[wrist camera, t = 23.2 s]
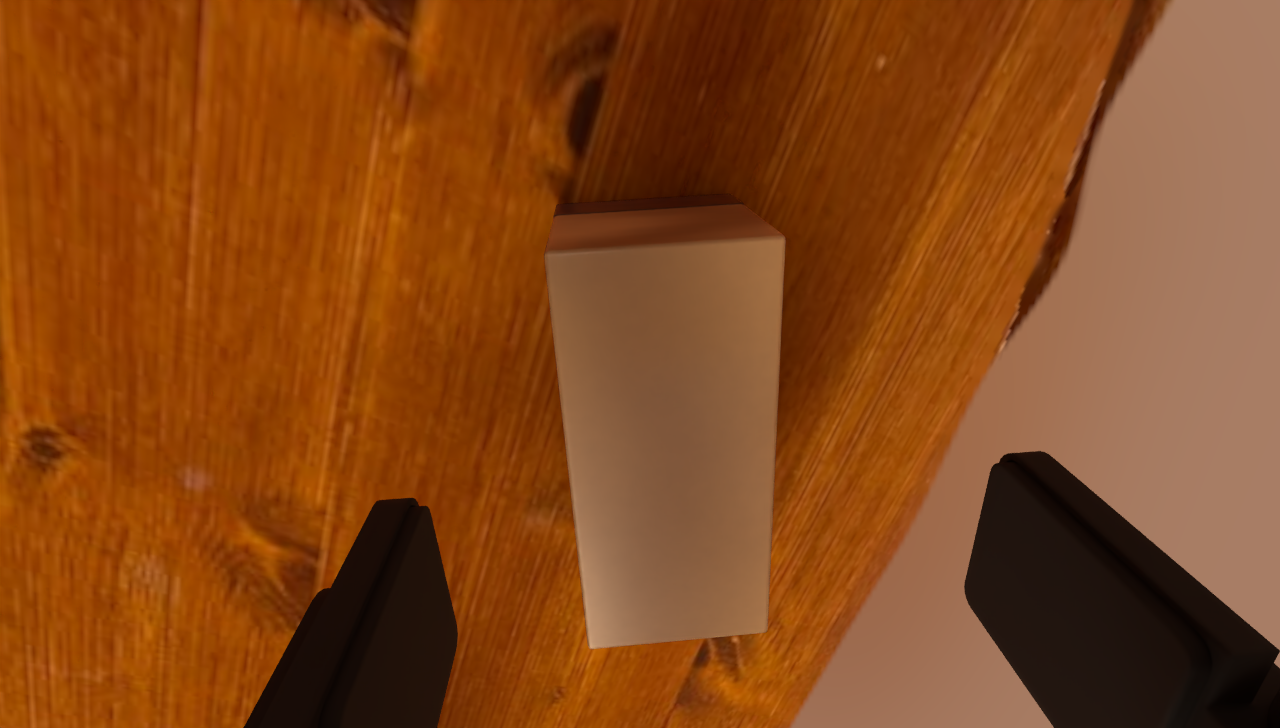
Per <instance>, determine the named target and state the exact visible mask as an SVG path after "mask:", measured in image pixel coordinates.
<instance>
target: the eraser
mask: <svg viewBox="0 0 1280 728" xmlns="http://www.w3.org/2000/svg"><path fill="white" fill-rule="evenodd" d="M785 242H786V239H785V236H784V235H783V234H781V233H780V232H779V231H777V230H776V229H775V228H773V227H772V226H771V225H770V224H768V223H767V222H766V221H764V220H763V219H762V218H760V217H759V216H758V215H757V214H755V213H754V212H753V211H751V210H750V209H749V208H747V207H746V206H745V205H744V204H743V203H742V202H741V201H740V200H738V199H737V198H736V197H734V196H733V195H732V194H716V195H700V196H684V197H668V198H652V199H636V200H619V201H603V202H587V203H571V204H558V205H557V206H556V210H555V213H554V220H553V223H552V227H551V231H550V234H549V238H548V242H547V246H546V249H545V253H544V260H545V269H546V278H547V287H548V295H549V304H550V313H551V322H552V331H553V340H554V349H555V358H556V366H557V375H558V384H559V393H560V402H561V411H562V420H563V429H564V437H565V446H566V455H567V464H568V473H569V482H570V491H571V500H572V509H573V517H574V526H575V535H576V544H577V553H578V562H579V571H580V580H581V588H582V597H583V606H584V615H585V624H586V633H587V642H588V646H589V648H590V649H598V648H608V647H619V646H629V645H639V644H650V643H660V642H671V641H681V640H692V639H702V638H713V637H723V636H733V635H744V634H754V633H764V632H766V631H767V628H768V607H769V586H770V564H771V543H772V521H773V500H774V478H775V457H776V435H777V414H778V392H779V371H780V349H781V328H782V306H783V285H784V263H785Z"/></svg>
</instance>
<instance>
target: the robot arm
mask: <svg viewBox="0 0 1280 728" xmlns="http://www.w3.org/2000/svg"><path fill="white" fill-rule="evenodd" d="M964 587H965V595H966V599H967V601H968V604H969V605H970V607H971V609H972V610H973V612H974V613H975V614H976V616H977V617H978V619H979V620H980V621H981V623H982V624H983V626H984V627H985V629H986V630H987V632H988V633H989V635H990V636H991V637H992V639H993V640H994V641H995V643H996V645H997V646H998V648H999V649H1000V651H1001V652H1002V653H1003V655H1004V656H1005V658H1006V659H1007V661H1008V662H1009V663H1010V665H1011V666H1012V668H1013V669H1014V671H1015V672H1016V673H1017V675H1018V676H1019V678H1020V679H1021V681H1022V682H1023V684H1024V685H1025V686H1026V688H1027V689H1028V691H1029V692H1030V694H1031V695H1032V697H1033V698H1034V699H1035V701H1036V702H1037V704H1038V705H1039V707H1040V708H1041V710H1042V711H1043V712H1044V714H1045V715H1046V717H1047V718H1048V719H1049V721H1050V722H1051V724H1052V725H1053V727H1054V728H1280V668H1279V667H1278V666H1276V665H1275V664H1274V661H1275V659H1276V657H1277V655H1278V654H1279V652H1280V651H1279V650H1278V649H1277V648H1276V647H1275V646H1274V645H1273V644H1271V643H1270V642H1269V641H1268V640H1267V639H1265V638H1264V637H1263V636H1262V635H1261V634H1260V633H1258V632H1257V631H1256V630H1255V629H1254V628H1253V627H1251V626H1250V625H1249V624H1248V623H1247V622H1245V621H1244V620H1243V619H1242V618H1241V617H1240V616H1238V615H1237V614H1236V613H1235V612H1234V611H1232V610H1231V609H1230V608H1229V607H1228V606H1227V605H1225V604H1224V603H1223V602H1222V601H1221V600H1219V599H1218V598H1217V597H1216V596H1215V595H1214V594H1212V593H1211V592H1210V591H1209V590H1208V589H1207V588H1206V587H1204V586H1203V585H1202V584H1201V583H1200V582H1198V581H1197V580H1196V579H1195V578H1194V577H1193V576H1191V575H1190V574H1189V573H1188V572H1187V571H1185V570H1184V569H1183V568H1182V567H1181V566H1180V565H1178V564H1177V563H1176V562H1175V561H1174V560H1173V559H1171V558H1170V557H1169V556H1168V555H1167V554H1166V553H1164V552H1163V551H1162V550H1161V549H1160V548H1158V547H1157V546H1156V545H1155V544H1154V543H1153V542H1151V541H1150V540H1149V539H1148V538H1146V536H1144V535H1143V534H1142V533H1141V532H1140V531H1138V530H1137V529H1136V528H1135V527H1134V526H1133V525H1131V524H1130V523H1129V522H1128V521H1127V520H1125V519H1124V518H1123V517H1122V516H1121V515H1120V514H1118V513H1117V512H1116V511H1115V510H1114V509H1113V508H1111V507H1110V506H1109V505H1108V504H1107V503H1106V502H1104V501H1103V500H1102V499H1101V498H1100V497H1099V496H1097V495H1096V494H1095V493H1094V492H1093V491H1091V490H1090V489H1089V488H1088V487H1087V486H1086V485H1084V484H1083V483H1082V482H1081V481H1080V480H1078V479H1077V478H1076V477H1075V476H1074V475H1073V474H1071V473H1070V472H1069V471H1068V470H1067V469H1066V468H1064V467H1063V466H1062V465H1061V464H1060V463H1059V462H1057V461H1056V460H1055V459H1054V458H1053V457H1051V456H1050V455H1049V454H1047V453H1045V452H1041V451H1037V452H1023V453H1010V454H1006V455H1004V456H1003V457H1002V458H1001V459H1000V462H999V463H997V464H994V465H993V467H992V468H991V471H990V476H989V480H988V484H987V488H986V493H985V497H984V502H983V506H982V510H981V515H980V519H979V523H978V527H977V532H976V536H975V540H974V545H973V549H972V554H971V558H970V562H969V567H968V571H967V575H966V580H965V586H964ZM457 636H458V633H457V624H456V620H455V615H454V611H453V607H452V602H451V598H450V594H449V590H448V585H447V581H446V577H445V573H444V568H443V564H442V560H441V555H440V551H439V547H438V543H437V538H436V534H435V530H434V526H433V521H432V517H431V513H430V510H429V508H428V507H427V506H419V505H418V502H417V501H416V499H414V498H403V499H390V500H379V501H377V502H376V503H375V504H374V505H373V507H372V509H371V511H370V513H369V515H368V517H367V519H366V521H365V523H364V525H363V526H362V528H361V530H360V532H359V534H358V536H357V538H356V540H355V542H354V544H353V546H352V548H351V550H350V552H349V554H348V555H347V557H346V559H345V561H344V563H343V565H342V567H341V569H340V571H339V573H338V575H337V577H336V579H335V581H334V583H333V584H332V586H331V588H327V589H323V590H321V591H320V592H318V593H317V595H316V596H315V598H314V599H313V600H312V602H311V604H310V606H309V608H308V609H307V611H306V613H305V615H304V617H303V619H302V621H301V622H300V624H299V626H298V628H297V630H296V632H295V634H294V635H293V637H292V639H291V641H290V643H289V645H288V647H287V648H286V650H285V652H284V654H283V656H282V658H281V659H280V661H279V663H278V665H277V667H276V669H275V671H274V672H273V674H272V676H271V678H270V680H269V682H268V684H267V685H266V687H265V689H264V691H263V693H262V695H261V697H260V698H259V700H258V702H257V704H256V706H255V708H254V710H253V711H252V713H251V715H250V717H249V719H248V721H247V723H246V724H245V726H244V728H437V726H438V722H439V718H440V714H441V709H442V705H443V701H444V697H445V693H446V689H447V685H448V681H449V677H450V673H451V669H452V665H453V660H454V656H455V652H456V647H457Z"/></svg>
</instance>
